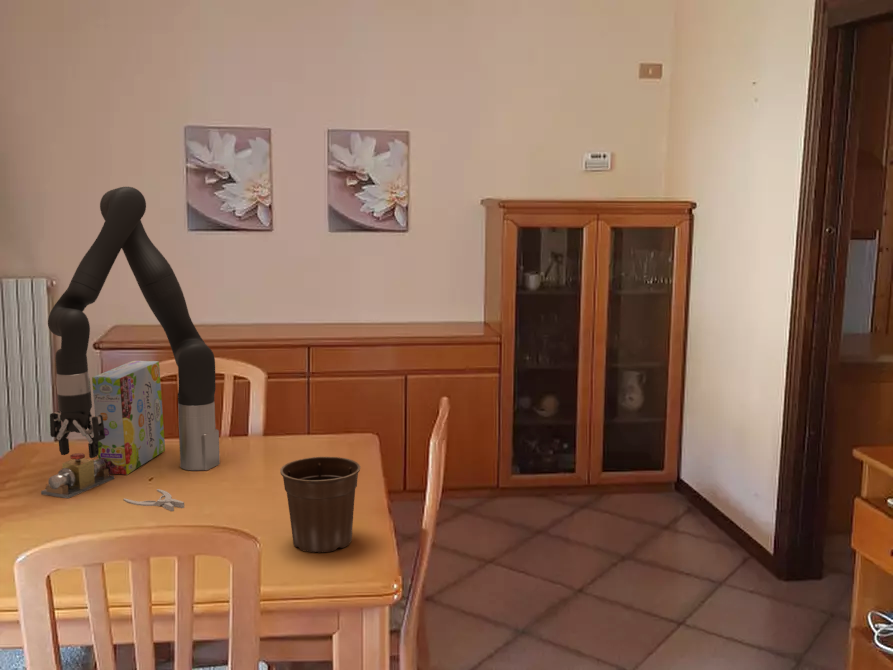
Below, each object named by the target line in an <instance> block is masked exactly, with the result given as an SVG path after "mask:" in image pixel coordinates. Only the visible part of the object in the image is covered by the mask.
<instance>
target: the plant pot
mask: <svg viewBox="0 0 893 670" xmlns="http://www.w3.org/2000/svg"><path fill="white" fill-rule="evenodd" d="M360 471H361V465H360V463H358V462H357V461H355V460H353V459H350V458H346V457H339V456H312V457H307V458H305V457H304V458H302V459H301V458H300V459H297V460H296V459H295V460H292V461H290V462H287V463H286V464H283V466H281V468H280V475H281V476H282V479H283V485H284V486H283V487H284V490H285V492H286V496H287V504H288V512H289V519H290V528H291V535H292V537H291V538H292V543H293V545H294V547H295V548H298V549H300V551H303V552H310V553H314V552H318V553H320V552H322V553H327V552H328V553H330V552H335V551H336V550H337V549H338V548H341V549H344V548H345V547H347V546H349V545H350V544H351V542H352V540H353V539H352V538H353V523H354V522H353V521H354V508H355V498H356V497H355V495H356V489H357V487H358V476H359V473H360Z"/></svg>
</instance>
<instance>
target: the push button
mask: <svg viewBox="0 0 893 670" xmlns="http://www.w3.org/2000/svg"><path fill="white" fill-rule="evenodd" d="M85 457H86V455H85V453H82V452H78V453H73V454H71V455H70V459H69V460H67V461H64V462H62V463H61V464H62V466H61V467H62V468H61V469H63V468H69V469H71V470H72V471H73V472H74V474H75V478H76V481H75V484H74V485H73V487H82V486H85V485H87V484H90V483H92V482H94V481H95V480H94V461H93V460H94V459H92V458H85Z"/></svg>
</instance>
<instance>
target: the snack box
mask: <svg viewBox="0 0 893 670" xmlns="http://www.w3.org/2000/svg"><path fill="white" fill-rule="evenodd" d="M160 371H161V370H160V361H159V360H158V361H156V360H150V361H149V360H132V361H129V362H126V363H124V364H122V365H119V366H117V367H115V368H114V367H113V368H112V369H109V370H107V371H105V372H102V373H100V374H99V373H98V374H97V375H95V376H92V377H91V384H92V396H93V406H94V408H93V409H94V416H98V415H102V417H103V424H104V432H105V438H104V439H102V440H99V441H98V447H99V448H98V449H99V454H98V456H97V459H98V458H102V459H103V460H104V461H105V463H106V469H109V475H122V476H128V475H129V474H131V473H132V472H134V471H135V470H137V469H138V468H140V467H141V466H143V465H145V464H146V463H148V462H149V461H151V460H152V459H154V458H156V457H157V456H158V455H159V456H160V454H162V453H163V452H165V451H166V443H165V442H166V441H165V440H166V439H165V430H164V429H165V428H164V414H163V400H162V387H161V386H162V385H161V372H160ZM99 435H100V434H99Z"/></svg>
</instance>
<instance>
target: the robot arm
mask: <svg viewBox="0 0 893 670" xmlns="http://www.w3.org/2000/svg"><path fill="white" fill-rule="evenodd" d="M146 208H147V202H146V198H145V195H143V193H142V192H141V191H140V190H139V189H137V188H135V187H132V186H119V187H116V188H113V189H110V190H108V191H107V192H105V193H104V194H103V195H102V197H101V199H100V202H99V211H100V213H101V216H102V218H103V219H104V220H103V221H104V223H103V225H102V227H101V229H100V232H99V233H98V235H97V237H96V238H95V240H94V242H93V243H92V245H91V246H90V247H89V249H88V250H87V252H86V253H85V254H84V256H83V257H82V259H81V261H80V262H79V263H78V266H76V267H77V268H76V270H75V271H74V274H73V276H72V277H71V280H70V282H69V284H68V287H67V289H65V291H64V292H63V293H62V294H61V296H60V297H59V299H58V300H57V302H55V304H54V305H53V307H52V309H51V311H50V312H49V315H48V318H47V325H48V329H49V331H50V332H51V333H52V334H53V335H55V336H56V337H60V338H61V342H60V343H61V344H60V348H59V349H58V350H57V351H56V352H55V359H54V361H55V370H56V371H55V372H56V380H55V382H56V385H55V386H56V394H57V407H58V411H55V412H52V413H50V414H49V429H50V432H49V433H50V437H51V438H56V439H57V441H58V449H59V452H60V455H61V456H66V455H69V453H70V442H69V438H68V437H69V435H70V433H77V434H80V435H82V437H84V438H85V439H86V440H87V442H88V443H87V444H88V455H89V456H88V457H89V459H95V458H96V457H97V458H98V454H99V449H98V448H99V447H98V441H99V440H102V439H104V438H105V432H104V424H103V417H102V415H98V416H95V415H92V413H91V410H92V407H93V404H92V391H91V390H92V388H91V379H90V374H89V367H88V356H87V352H88V348H89V342H90V334H91V333H90V332H91V327H90V321H89V318H88V316H87V314H86V313H85V312H84V311H85V309H86V308H87V307H88V306H89V305H92V304H94V303H95V302H96V301H97V299H98V297H99V295H100V293H101V292H102V290H103V289H102V288H103V287H104V286H105V285H104V284H105V283H106V281H107V278H108V276H109V274H110V272H111V270H112V268H113V266H114V264H115V261H116V259H117V257H118V256H119V254H120V252H121V251H122V252H123V254H124V256H125V258H126V260H127V263H128V266H129V268H130V270H131V272H132V274H133V275H134V278H135V280H136V282H137V286H138V287H139V289H140V291H141V294H142V296H143V298H144V299H145V301H146V303H147V306H148V307H149V308H150V310H151V312H152V313H153V315H154V317H155V318H156V320H157V321H158V322H159V324H160V326H161V327H162V329H163V331H164V332H165V335H166V337H167V340H168V343H169V345H170V349H171V351H172V354H173V358H174V362H175V363H176V366H177V371H178V372H177V373H178V374H177V377H178V378H177V379H178V391H177V406H178V407H177V410H178V415H177V416H178V436H179V437H178V439H179V441H178V442H179V462H180V463H179V466H180V469H183V470H186V471H208V470H210V469H212V468H214V467H216V466H219V465H220V464H221V463H220V461H221V460H220V433H219V432H220V431H219V429H217V428H216V408H215V407H216V406H215V393H216V359H215V358H216V357H215V354H214V352H213V351H212V349H211V348H210V347H209V346H208V344H207V343H206V342H205V341H204V340H203V338H202V336H201V335H200V333H199V331H198V329H197V328H196V326H195V325H194V322H193V321H192V318H191V316H190V313H189V309H188V306H187V302H186V299H185V296H184V292H183V289H182V287H181V285H180V282H179V280H178V278H177V276H176V274H175V272H174V270H173V268H172V266H171V264H170V263H169V261H168V260H167V259H166V258H165V256H164V254H162V253H161V251H160V250H159V249H158V248H157V247H156V246H155V244H154V243H153V242H152V240H151V239H150V237H149V235H148V234H147V232H146V230H145V228H144V225H143V222H142V218H143V217H144V215H145V213H146V210H147V209H146ZM99 434H100V435H99Z"/></svg>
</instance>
